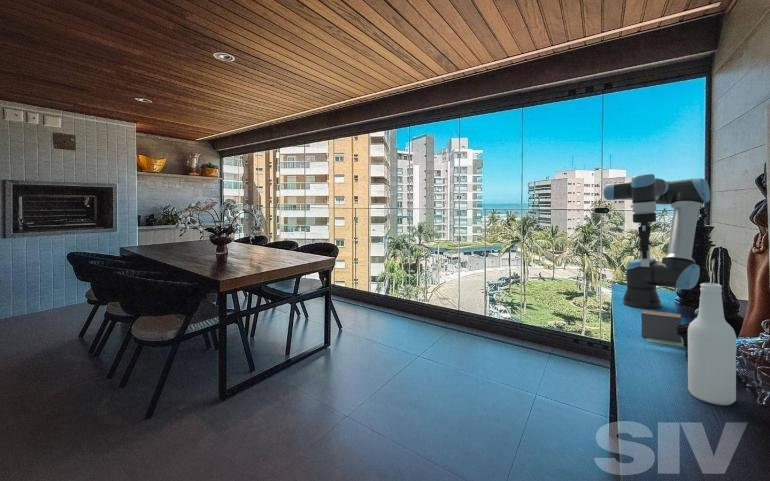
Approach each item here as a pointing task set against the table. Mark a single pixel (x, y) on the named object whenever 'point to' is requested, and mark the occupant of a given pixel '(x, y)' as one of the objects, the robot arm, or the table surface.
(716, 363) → the alcohol
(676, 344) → the header board
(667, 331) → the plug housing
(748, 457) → the table surface
